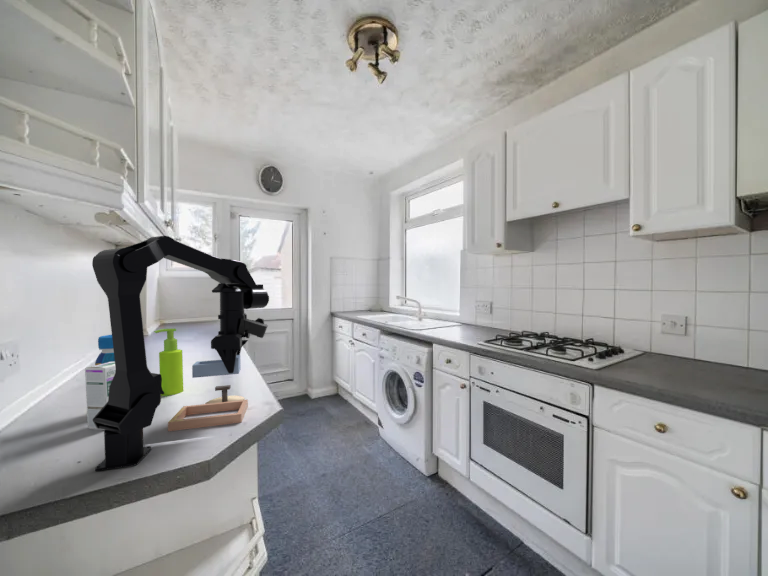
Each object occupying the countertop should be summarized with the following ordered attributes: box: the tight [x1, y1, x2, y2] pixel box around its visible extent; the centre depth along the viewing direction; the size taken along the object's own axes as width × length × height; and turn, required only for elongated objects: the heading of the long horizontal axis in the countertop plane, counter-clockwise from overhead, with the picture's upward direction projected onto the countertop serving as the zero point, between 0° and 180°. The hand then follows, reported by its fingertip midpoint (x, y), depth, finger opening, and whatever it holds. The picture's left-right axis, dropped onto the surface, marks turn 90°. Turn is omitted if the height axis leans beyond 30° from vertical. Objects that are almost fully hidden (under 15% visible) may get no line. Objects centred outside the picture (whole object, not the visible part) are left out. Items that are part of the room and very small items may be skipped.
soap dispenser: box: [153, 328, 184, 397], centre depth 98 cm, size 6×7×20 cm
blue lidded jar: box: [94, 334, 115, 366], centre depth 86 cm, size 8×8×20 cm
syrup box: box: [84, 362, 116, 431], centre depth 77 cm, size 6×6×14 cm
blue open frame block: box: [191, 354, 241, 379], centre depth 82 cm, size 10×5×4 cm, turn 108°
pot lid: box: [204, 384, 246, 404], centre depth 89 cm, size 10×10×5 cm
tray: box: [167, 399, 249, 432], centre depth 78 cm, size 10×15×2 cm, turn 105°
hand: (232, 370), depth 84 cm, fingers closed on blue open frame block, 5 cm apart
